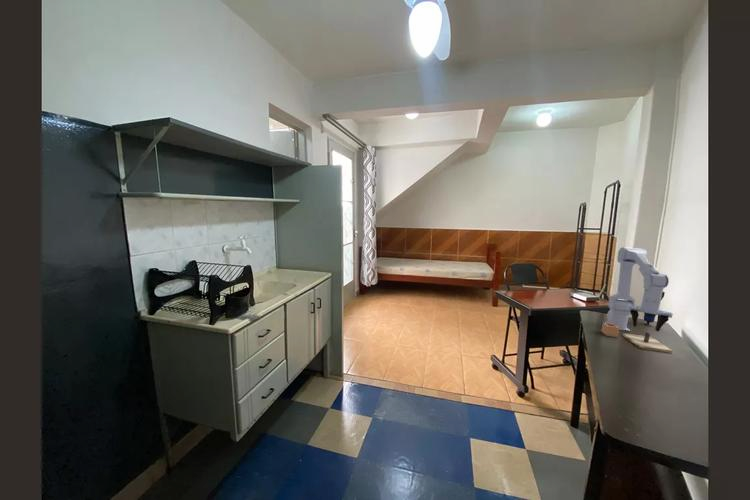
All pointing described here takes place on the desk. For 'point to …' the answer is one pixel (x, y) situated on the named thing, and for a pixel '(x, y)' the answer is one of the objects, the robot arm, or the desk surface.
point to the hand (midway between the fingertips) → (645, 328)
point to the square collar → (610, 329)
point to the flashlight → (651, 317)
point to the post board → (647, 342)
